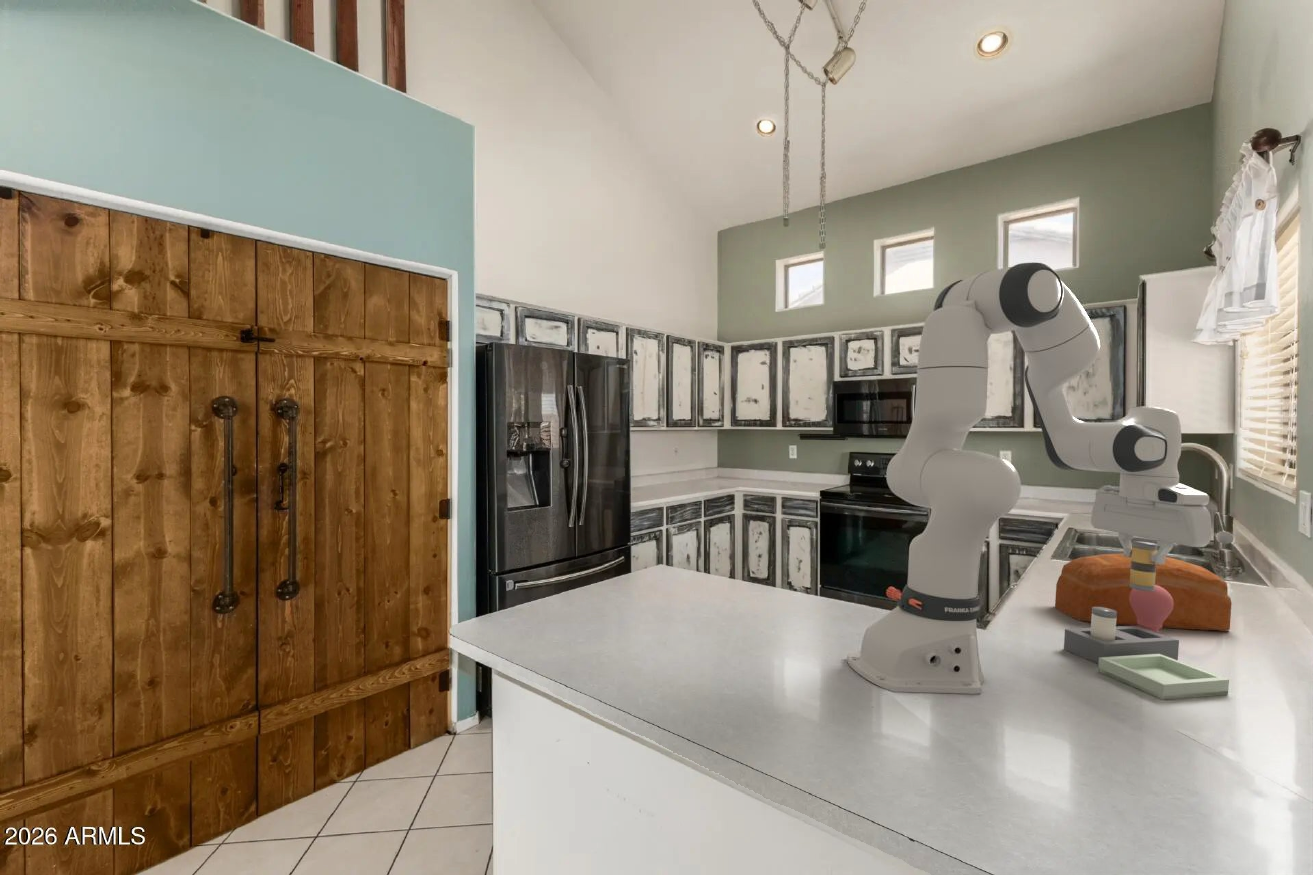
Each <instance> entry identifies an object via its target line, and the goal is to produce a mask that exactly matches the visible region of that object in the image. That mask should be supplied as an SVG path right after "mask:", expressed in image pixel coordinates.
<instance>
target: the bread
mask: <svg viewBox="0 0 1313 875" xmlns="http://www.w3.org/2000/svg"><path fill="white" fill-rule="evenodd" d="M1130 570H1131V558H1130V557H1125V556H1124V555H1123V552H1122V553H1120V552H1119V553H1106V554H1096V555H1089V556H1084V557H1083V556H1081V557H1078V558H1076V559H1072V560H1071V561H1068V562H1067V563H1065V564H1063V566H1062V570H1061V574H1060V575H1059V576H1058V578H1057V582H1056V584H1055V585H1056V586H1055V597H1054V598H1055V600H1054V602H1055V603H1054V608H1055V609H1056V610H1058V611H1060V612H1061V613H1062V614H1064V615H1065V614H1066V615H1067V616H1069V617H1071V618H1074V619H1077V620H1079V621H1082V622H1085V623H1086V622H1087V623H1091V618H1092V607H1103V608H1108V609H1112V610H1115V611H1116V612H1117V618H1116V625H1119V626H1138V625H1139V624H1138V623H1137V620H1138V619H1137V616H1136V614H1135V613H1134V611H1133V609H1132V607H1131V604H1130V601H1129V596H1130V593H1131V591H1132V590H1133V588H1130V587H1129V586H1130ZM1155 585H1158V586H1160V587H1162V588H1164V589H1165V590H1166V591H1167V592H1168V593H1169V594H1170V595H1171V597H1172V599H1173V602H1174V606H1173V610H1172V612H1171V613H1170V614H1169V616H1168V617H1167V618H1166V619H1165V620H1164V622H1163V623H1162V628H1165V629H1167V628H1168V629H1169V628H1170V629H1171V628H1172V629H1184V630H1194V629H1199V630H1198V631H1208V630H1219V631H1218V632H1227V631H1226V630H1228V631H1230V630H1231V618H1232V616H1231V615H1232V605H1233V604H1232V599H1231V597H1230V596H1229V594H1228V588H1229V587H1228V584H1227V582H1226V581H1225V580H1223V579H1222V578H1221V577H1220V576H1218V575H1217V574H1215V573H1213V572H1211V571H1210V570H1208V569H1206V568H1204V567H1203V566H1201V565H1197V564H1193V563H1191V562H1186V561H1184V560H1180V559H1177V558H1173V557H1170V556H1169V557H1168V556H1166V558H1165V564H1156V576H1155Z"/></svg>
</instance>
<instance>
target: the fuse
mask: <svg viewBox="0 0 1313 875" xmlns="http://www.w3.org/2000/svg"><path fill="white" fill-rule="evenodd" d="M1116 618H1117V612H1116V611H1115V610H1112V609H1108V608H1103V607H1092V618H1091V622H1090V628H1091V633H1090V635H1091V636H1094V637H1096V638H1099V639H1102V640H1104V641H1110V640H1115V633H1116V627H1117V624H1116Z"/></svg>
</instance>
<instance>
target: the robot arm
mask: <svg viewBox="0 0 1313 875" xmlns="http://www.w3.org/2000/svg"><path fill="white" fill-rule="evenodd" d="M1012 331H1014V333H1015V336H1016V338H1017V339H1018V342H1019V344H1020V346H1021V348H1022V350H1023V351H1024V353H1025V356H1026V359H1027V366H1026V367H1025V370H1024V382H1025V386H1026V389H1027V392H1028V396H1029V399H1030V401H1031V404H1032V406H1033V409H1034V412H1035V415H1036V417H1037V420H1038V424H1039V426H1040V429H1041V432H1042V435H1043V443H1044V449H1045V453H1046V455H1047V457H1048V459H1049V460H1050V461H1051V463H1052V465H1054V466H1055V467H1057V468H1059V469H1060V470H1062V471H1063V470H1064V471H1093V472H1103V473H1105V472H1106V473H1117V474H1118V473H1119V474H1120V477H1119V486H1111V485H1103V486H1101V487H1099V488H1098V489H1097V490H1096V492H1095V499H1094V502H1093V507H1092V510H1091V516H1090V524H1091V526H1092V527H1093V528H1094V529H1097V530H1103V531H1108V532H1113V533H1118V536H1117V537H1118V538H1117V539H1118V540H1119V543H1120V545H1121V546H1122V547H1123V552H1122V553H1123V555H1124V556H1125V557H1130V558H1131V555H1132V540H1133V539H1134V537H1139V538H1143V539H1150V540H1155V541H1156V544H1157V547H1158V548H1157V552H1156V553H1155V554H1151V555H1150V557H1151V559H1150V562H1151V563H1156V564H1165V558H1166V557H1167V555H1168V554H1169V553H1170V552H1171V550H1173V548H1174V544H1176V545H1180V546H1181V545H1182V546H1186V547H1192V548H1204V547H1206V546H1207V545H1208V544H1210V542H1211V539H1212V517H1211V513H1210V511H1209V509H1208V508H1207V507H1206V506H1207V505H1208V504H1209V502H1210V496H1209V494H1207V493H1206V492H1203V491H1201V490H1198V489H1195V488H1193V487H1190V486H1189V485H1185V484H1183V483H1180V474H1179V473H1180V472H1179V471H1178V462H1179V459H1180V457H1181V454H1182V426H1181V422H1180V421H1181V420H1180V418H1179V415H1178V412H1176V411H1174V410H1172V409H1170V408H1166V407H1161V406H1160V407H1157V406H1149V405H1145V406H1144V405H1143V406H1142V405H1141V406H1134V407H1131V408H1129V409H1128V411H1127V415H1125V416H1124V417H1122V418H1120V419H1117V420H1113V422H1112V421H1111V422H1089V421H1083V420H1079V419H1078V418H1076V417H1074V416H1073V414H1072V411H1071V408H1070V406H1069V402H1068V400H1067V396H1066V394H1065V391H1064V386H1063V385H1064V384H1066V383H1069V382H1071V381H1073V380H1075V379H1076V378H1078V377H1079V376H1081V375H1082V374H1084V372H1086V371H1087V370H1088V369H1089V368H1091V366H1092V365H1093V364H1094V363H1095V361H1096V360H1097V358H1098V356H1099V353H1100V349H1101V342H1100V338H1099V335H1098V332H1097V330H1096V328H1095V327H1094V325H1093V323H1092V322H1091V319H1090V317H1089V316H1088V314H1087V312H1086V311H1085V309H1084V307H1083V306H1082V304H1081V303H1080V301H1079V300H1078V299H1077V297H1076V296H1075V294H1074V293H1073V292H1072V291H1071V290H1070V288H1068V287H1067V286H1066V284H1065V283H1064V282H1063V281H1062V280H1061V277H1060V275H1058V273H1057V272H1056V271H1055V270H1054V269H1053V268H1051V266H1049V265H1047V264H1045V263H1042V262H1022V263H1017V264H1015V265H1012V266H1009V267H1003V268H998V269H994V270H993V269H992V270H985V271H983V272H980V273H977V274H974V275H972V276H969V277H967V278H965V279H960V280H957V281H955V282H953V283H951V284H950V285H948V286H946V287H945V288H944V289H943V290H942V291H941V292H940V293H939V294H938V295H937V298H936V300H935V302H934V306H933V311H932V312H931V313H929V315H927V318H926V319H925V321H924V323H923V328H922V332H921V337H920V342H919V346H918V347H919V348H918V354H917V355H918V356H917V366H916V367H917V370H916V371H917V372H916V387H915V388H916V391H915V400H914V401H915V404H914V414H913V417H912V422H911V424H910V428H909V431H908V434H907V435H906V439H905V441H904V444H903V445H902V447H901V448H900V450H899V451H898V452H897V453H896V454H895V455H894V456H892V458H891V459H890V461H889V463H888V465H887V468H886V476H885V477H886V483H887V485H888V488H889V489H890V491H891V493H893V494H894V495H895V496H897V497H899V498H901V499H902V500H904V501H905V502H907V503H909V504H911V505H914V506H917V507H922V508H926V509H931V511H930V516H929V519H928V522H927V525H926V527H925V529H924V530H923V532H922V533H920V534H918V535H916V536H915V537H914V538H913V539H912V540H911V542H910V544H909V548H908V566H907V568H908V570H907V583H906V584H904V585H905V586H904V587H903V589H902V591H901V590H900V589H897V588H895V587H894V586H889V587H888V588H887V589H886V591H885V594H886V596H887V597H888V598H889V599H892V600H893V601H896V602H897V604H896V605H897V606H896V607H895V608H893V609H891V611H889V612H888V613H886V614H885V615H884V616H882V617H881V618H880V619H878V620H877V621H876V622H874V623H873V624H871V625H870V626H869V627H867V628H866V629H865V631H864V634H863V639H862V642H861V646H860V650H859V651H858V650H857V651H852V652H851V651H850V652H849V653H848V654H847V660H846V661H847V663H848V665H849V666H850V667H851V668H852V669H853V671H855V672H856V673H857V674H859V675H860V676H861V677H863V678H864V679H866V680H868V681H869V682H871V683H873V684H874V685H877V686H879V687H881V688H883V689H886V690H888V691H892V692H898V693H899V692H900V693H901V692H902V693H904V692H905V693H934V694H935V693H937V694H938V693H942V694H944V693H946V694H951V693H952V694H980V693H982V683H983V682H984V679H985V677H984V675H983V674H984V673H983V671H982V666H981V661H980V654H979V645H978V644H979V643H978V632H977V619H978V618H979V617H980V609H981V608H980V607H981V606H980V605H981V604H980V602H981V601H980V600H981V598H980V595H979V594H978V585H979V574H980V573H979V572H980V564H981V563H980V562H981V555H982V551H983V547H984V544H985V542H986V539H987V536H988V534H989V533H990V531H991V529H992V528H993V526H994V525H995V524H996V523H997V521H999V519H1000V518H1002V517H1003V516H1005V515H1007V514H1009V512H1011V511H1012V510H1013V509H1014V508H1015V506H1016V504H1017V503H1018V501H1019V500H1020V496H1021V491H1022V484H1021V478H1020V475H1019V472H1018V471H1017V469H1016V467H1015V466H1014V465H1013V464H1012V463H1011V462H1010V461H1008V460H1006V459H1004V458H1000V457H998V456H996V455H993V454H990V453H986V452H983V451H975V450H963V447H964V444H965V441H966V439H967V436H968V435H969V432H970V431H971V429H972V428H973V427H974V426H975V425H976V424H978V423H979V422H980V421H981V420H982V419H983V418H984V417H985V414H986V412H987V404H988V401H987V400H988V380H989V379H988V378H989V345H988V343H989V339H990V338H991V335H998V334H1003V333H1007V332H1012Z"/></svg>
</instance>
